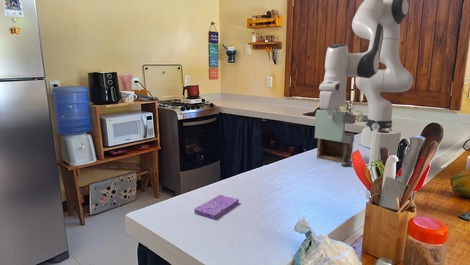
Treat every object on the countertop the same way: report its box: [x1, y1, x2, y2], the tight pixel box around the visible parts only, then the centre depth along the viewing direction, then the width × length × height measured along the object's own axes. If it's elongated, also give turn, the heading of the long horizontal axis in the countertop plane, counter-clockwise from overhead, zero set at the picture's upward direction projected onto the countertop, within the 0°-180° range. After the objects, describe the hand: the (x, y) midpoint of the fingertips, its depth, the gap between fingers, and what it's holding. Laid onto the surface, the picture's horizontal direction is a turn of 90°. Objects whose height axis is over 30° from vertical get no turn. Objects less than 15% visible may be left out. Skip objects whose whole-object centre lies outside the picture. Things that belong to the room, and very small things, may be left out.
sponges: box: [194, 194, 240, 220], centre depth 91 cm, size 7×13×2 cm, turn 148°
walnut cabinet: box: [316, 132, 355, 168], centre depth 137 cm, size 14×16×13 cm
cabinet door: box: [314, 109, 357, 144], centre depth 131 cm, size 4×16×12 cm, turn 52°
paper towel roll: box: [365, 130, 402, 199], centre depth 96 cm, size 7×6×21 cm
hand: (332, 118), depth 131 cm, fingers closed on cabinet door, 2 cm apart
